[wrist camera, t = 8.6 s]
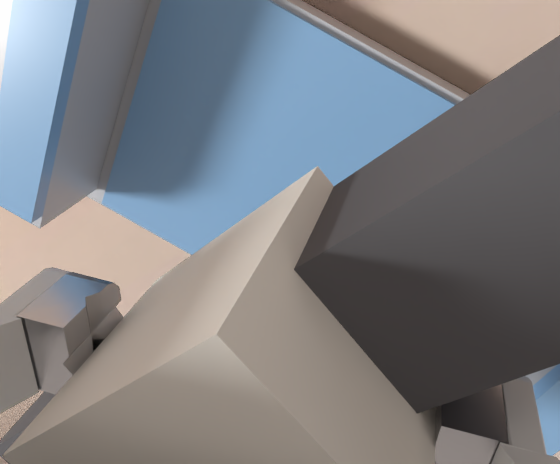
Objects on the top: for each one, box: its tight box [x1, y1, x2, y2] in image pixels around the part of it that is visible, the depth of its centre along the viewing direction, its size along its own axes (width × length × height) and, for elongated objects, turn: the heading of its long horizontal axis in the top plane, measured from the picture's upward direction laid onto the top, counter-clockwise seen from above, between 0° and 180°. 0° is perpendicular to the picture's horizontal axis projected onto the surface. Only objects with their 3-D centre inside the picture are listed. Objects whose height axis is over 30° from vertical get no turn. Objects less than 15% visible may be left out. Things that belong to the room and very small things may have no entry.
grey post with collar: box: [0, 35, 560, 464], centre depth 9 cm, size 14×4×5 cm, turn 131°
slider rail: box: [0, 0, 560, 456], centre depth 15 cm, size 9×32×4 cm, turn 65°
